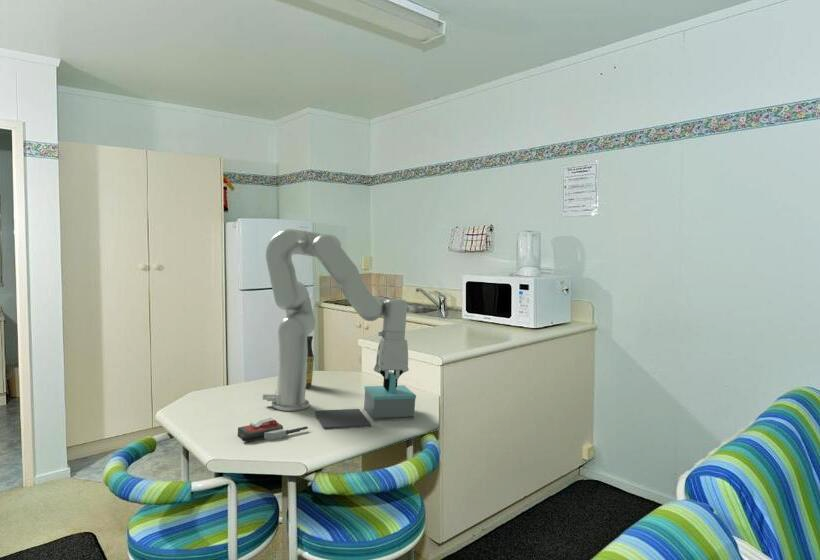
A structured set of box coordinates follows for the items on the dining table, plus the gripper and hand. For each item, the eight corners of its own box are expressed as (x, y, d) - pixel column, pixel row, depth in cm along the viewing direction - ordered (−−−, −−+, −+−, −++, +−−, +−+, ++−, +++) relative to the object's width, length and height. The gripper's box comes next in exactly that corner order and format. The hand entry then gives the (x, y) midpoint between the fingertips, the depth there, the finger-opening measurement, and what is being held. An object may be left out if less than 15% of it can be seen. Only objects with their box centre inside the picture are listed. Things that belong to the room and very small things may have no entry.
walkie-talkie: (246, 447, 147) (309, 433, 160) (247, 431, 146) (310, 418, 160) (232, 437, 153) (294, 424, 167) (233, 422, 153) (294, 410, 166)
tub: (373, 421, 174) (374, 399, 173) (363, 409, 185) (365, 389, 185) (413, 419, 178) (415, 398, 178) (402, 407, 190) (403, 388, 189)
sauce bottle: (302, 389, 204) (305, 337, 203) (291, 385, 208) (294, 334, 207) (315, 386, 210) (318, 335, 208) (304, 382, 213) (307, 333, 212)
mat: (323, 429, 163) (323, 427, 163) (314, 412, 178) (315, 410, 178) (371, 426, 168) (371, 424, 168) (358, 410, 183) (359, 408, 183)
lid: (373, 404, 173) (375, 378, 173) (364, 393, 185) (365, 369, 184) (415, 402, 178) (417, 377, 177) (403, 392, 190) (405, 368, 189)
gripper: (374, 337, 174) (370, 393, 175) (419, 337, 179) (415, 392, 180) (367, 333, 181) (364, 387, 182) (412, 333, 186) (408, 385, 187)
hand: (390, 389), depth 181 cm, fingers closed on lid
